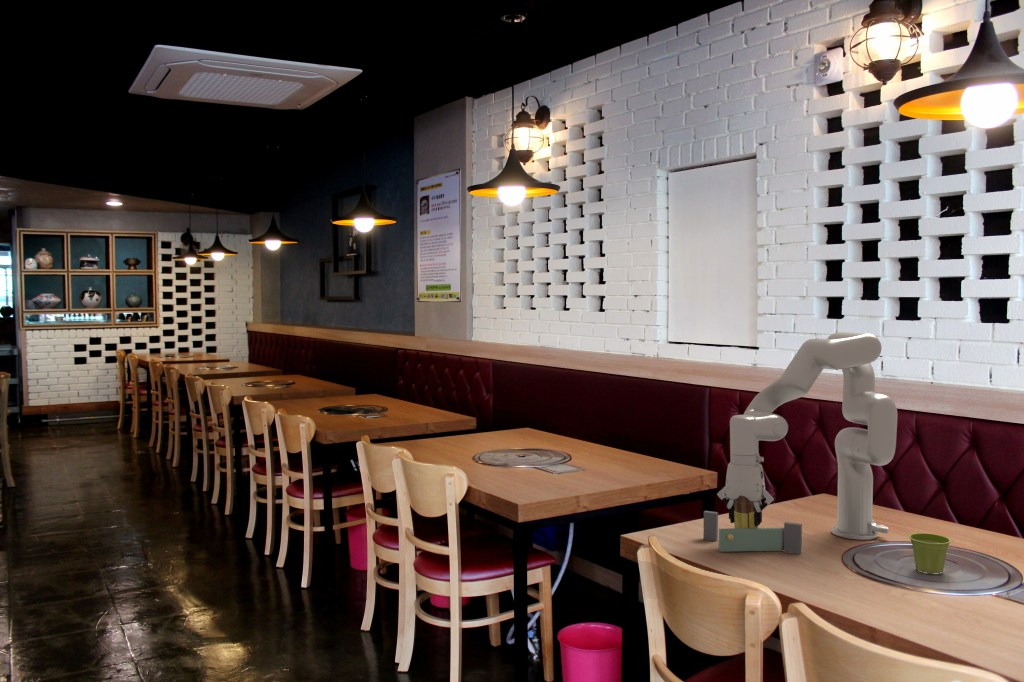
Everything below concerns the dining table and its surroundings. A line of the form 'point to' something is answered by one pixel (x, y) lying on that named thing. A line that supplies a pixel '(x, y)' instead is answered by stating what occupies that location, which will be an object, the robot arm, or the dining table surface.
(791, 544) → the partition wall
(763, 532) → the door
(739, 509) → the sauce bottle
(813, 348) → the robot arm
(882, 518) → the dining table surface
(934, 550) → the plant pot
